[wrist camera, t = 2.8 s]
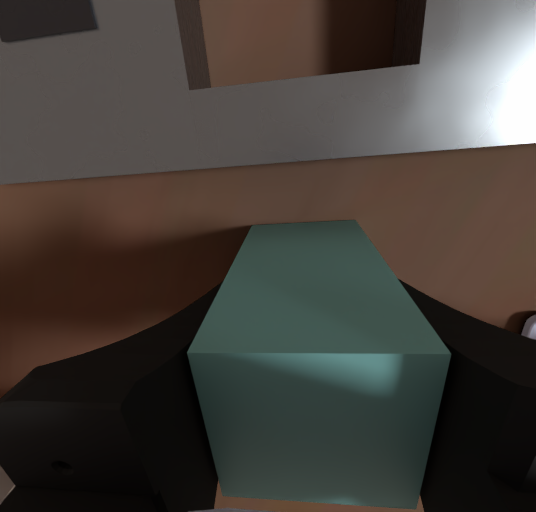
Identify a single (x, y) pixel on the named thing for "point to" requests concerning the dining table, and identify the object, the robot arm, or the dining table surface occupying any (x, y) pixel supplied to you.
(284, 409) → the square peg
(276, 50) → the dining table surface
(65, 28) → the grey flat board
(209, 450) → the robot arm
